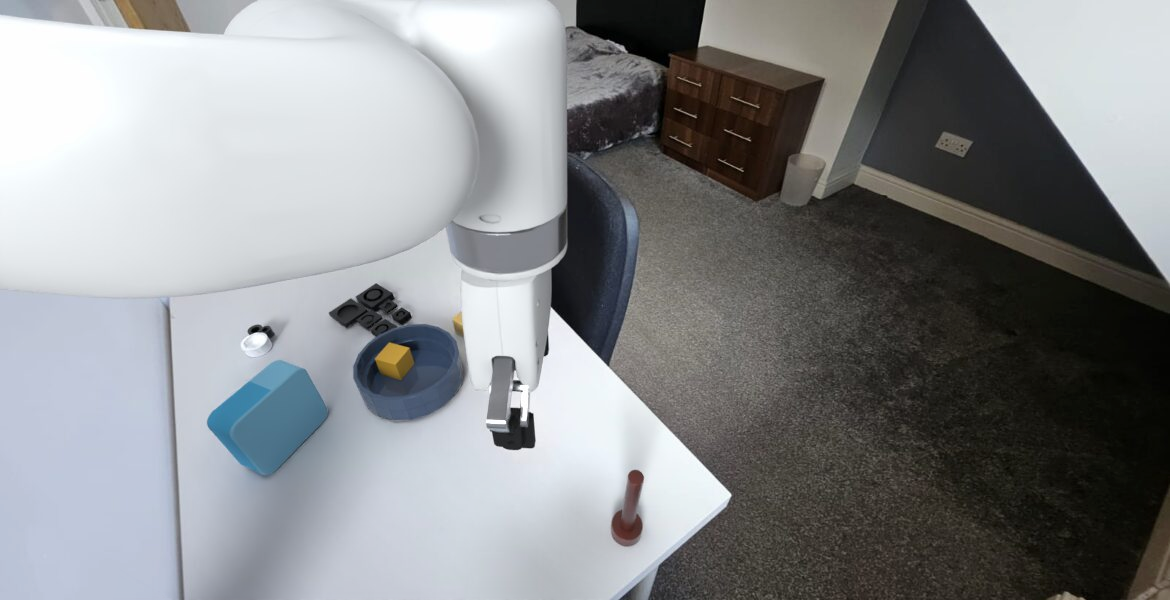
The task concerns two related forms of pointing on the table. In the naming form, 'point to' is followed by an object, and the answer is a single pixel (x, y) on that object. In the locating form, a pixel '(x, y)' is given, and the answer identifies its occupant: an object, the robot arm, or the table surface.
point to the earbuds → (340, 318)
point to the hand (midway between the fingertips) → (524, 394)
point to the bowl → (410, 373)
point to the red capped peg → (629, 513)
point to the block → (394, 361)
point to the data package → (269, 417)
